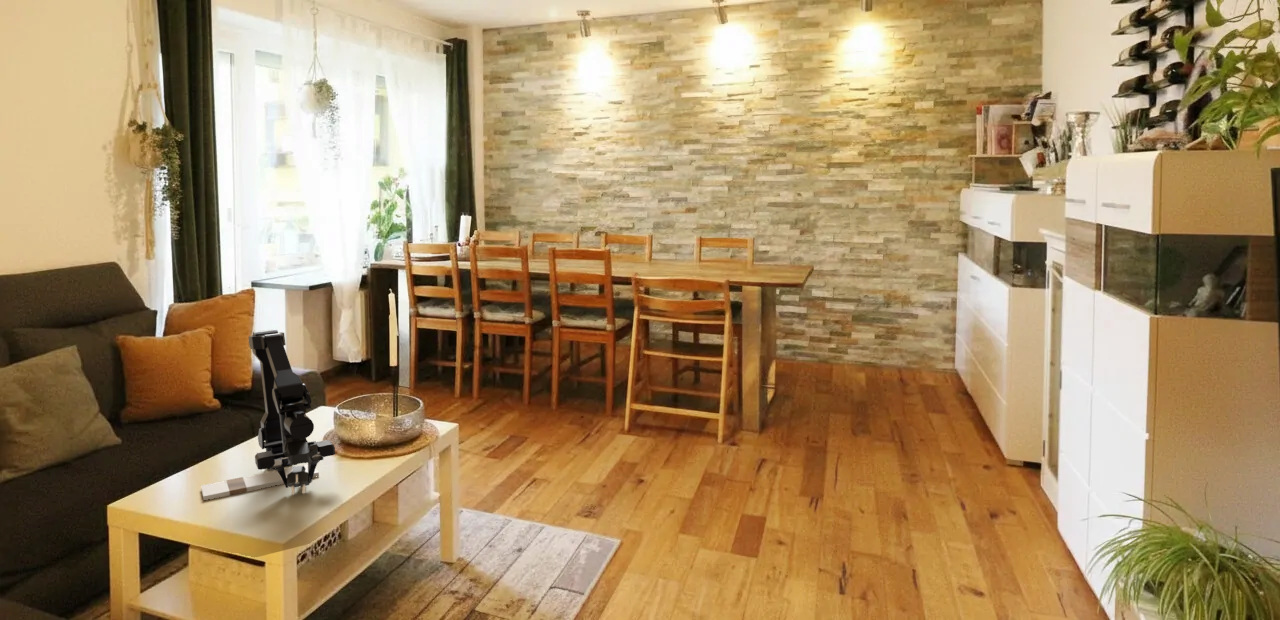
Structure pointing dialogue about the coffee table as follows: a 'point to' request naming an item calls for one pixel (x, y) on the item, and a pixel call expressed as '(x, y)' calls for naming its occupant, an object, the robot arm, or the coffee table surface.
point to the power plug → (298, 478)
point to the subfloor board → (245, 484)
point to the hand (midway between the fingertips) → (298, 484)
